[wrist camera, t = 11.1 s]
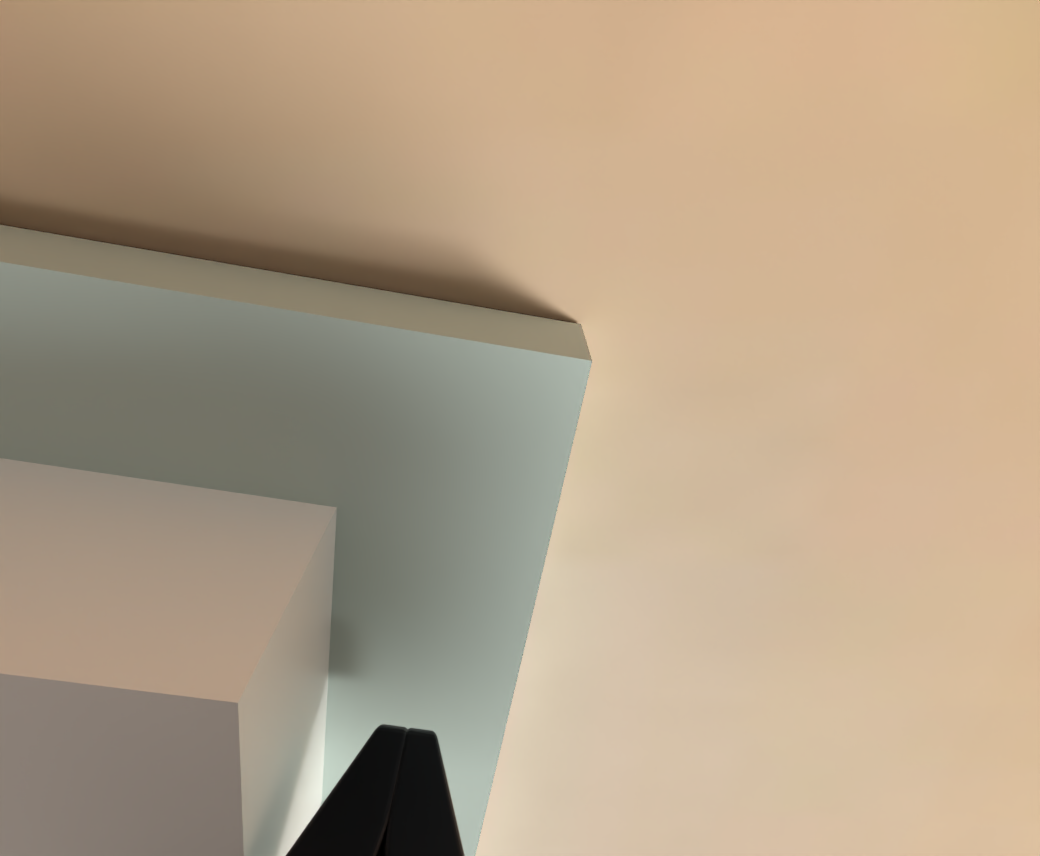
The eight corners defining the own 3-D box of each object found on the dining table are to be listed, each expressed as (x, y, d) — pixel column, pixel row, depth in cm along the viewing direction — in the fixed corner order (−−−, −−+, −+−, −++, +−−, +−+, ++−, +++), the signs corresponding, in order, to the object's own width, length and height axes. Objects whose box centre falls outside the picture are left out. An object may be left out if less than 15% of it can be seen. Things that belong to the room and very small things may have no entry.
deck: (430, 1002, 16) (422, 1080, 15) (-37, 959, 16) (-91, 1038, 14) (580, 324, 8) (592, 360, 7) (-378, 159, 7) (-575, 165, 6)
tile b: (321, 800, 10) (250, 1034, 8) (-47, 757, 10) (-260, 989, 7) (337, 506, 8) (237, 702, 5) (-160, 434, 7) (-550, 604, 5)
